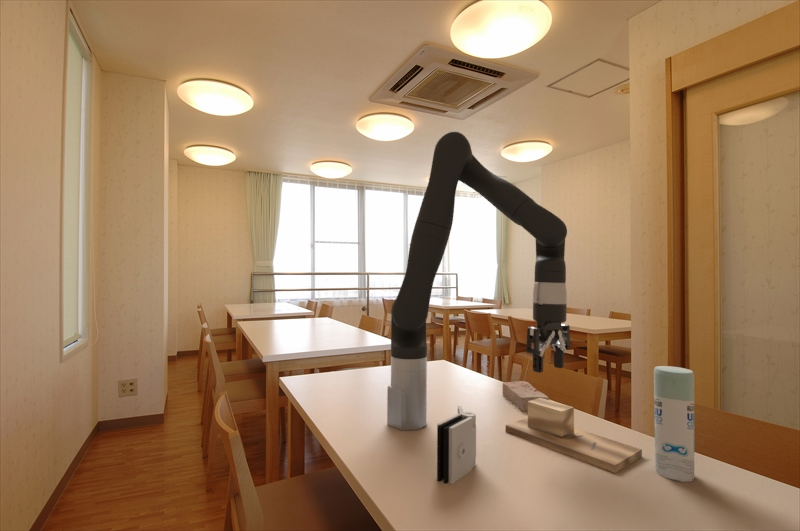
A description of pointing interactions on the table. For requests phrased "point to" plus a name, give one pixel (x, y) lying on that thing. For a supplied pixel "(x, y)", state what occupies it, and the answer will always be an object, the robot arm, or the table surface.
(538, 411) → the block
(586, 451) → the board
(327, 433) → the table surface
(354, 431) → the table surface
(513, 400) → the brick
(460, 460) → the hinge
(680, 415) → the spray paint can
